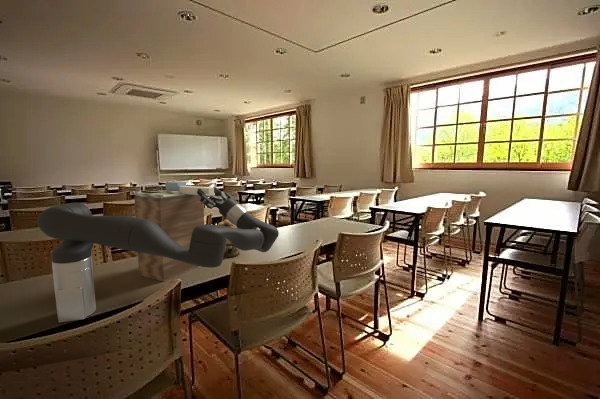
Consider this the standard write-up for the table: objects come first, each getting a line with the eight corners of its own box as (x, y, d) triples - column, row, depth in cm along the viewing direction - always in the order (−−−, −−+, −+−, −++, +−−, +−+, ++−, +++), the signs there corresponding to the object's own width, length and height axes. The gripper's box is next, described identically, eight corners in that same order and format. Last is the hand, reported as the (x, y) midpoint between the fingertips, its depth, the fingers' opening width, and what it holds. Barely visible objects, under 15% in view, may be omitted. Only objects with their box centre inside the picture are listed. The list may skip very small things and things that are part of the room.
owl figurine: (207, 250, 150) (206, 217, 148) (229, 246, 158) (228, 215, 156) (222, 260, 137) (222, 224, 134) (245, 255, 144) (245, 221, 142)
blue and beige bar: (215, 195, 120) (215, 183, 119) (207, 196, 116) (207, 184, 115) (174, 191, 129) (174, 181, 129) (166, 192, 125) (165, 182, 125)
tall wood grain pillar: (205, 263, 132) (203, 189, 127) (163, 281, 112) (159, 195, 107) (182, 258, 137) (179, 188, 133) (139, 275, 118) (134, 192, 113)
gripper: (249, 202, 119) (221, 180, 124) (226, 207, 106) (195, 182, 111) (241, 217, 121) (214, 195, 126) (218, 223, 108) (189, 199, 113)
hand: (205, 189), depth 118 cm, fingers open, 8 cm apart
